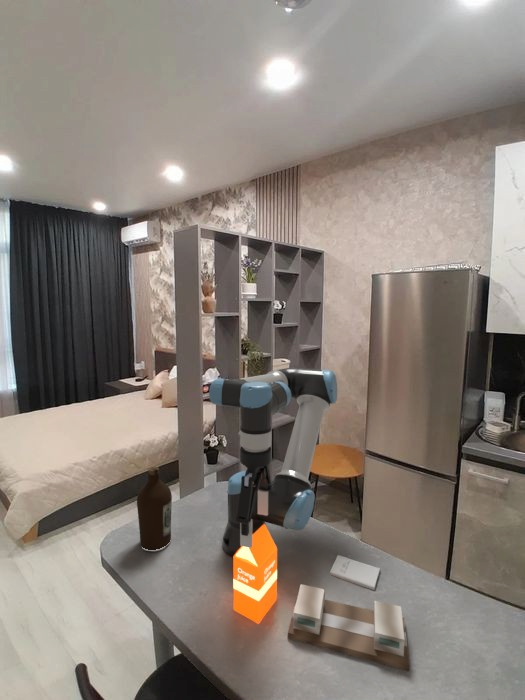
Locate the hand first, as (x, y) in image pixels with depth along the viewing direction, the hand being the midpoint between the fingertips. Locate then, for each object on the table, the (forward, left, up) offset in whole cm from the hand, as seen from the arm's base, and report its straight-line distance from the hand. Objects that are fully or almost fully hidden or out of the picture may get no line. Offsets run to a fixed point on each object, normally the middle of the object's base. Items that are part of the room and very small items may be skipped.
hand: (255, 528), depth 90 cm
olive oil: (-38, +14, -21) cm, 46 cm away
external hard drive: (+24, +19, -22) cm, 38 cm away
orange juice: (0, 0, -21) cm, 21 cm away
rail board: (+23, -1, -21) cm, 31 cm away
